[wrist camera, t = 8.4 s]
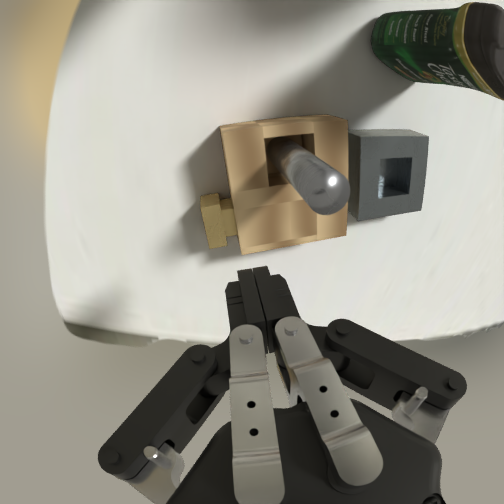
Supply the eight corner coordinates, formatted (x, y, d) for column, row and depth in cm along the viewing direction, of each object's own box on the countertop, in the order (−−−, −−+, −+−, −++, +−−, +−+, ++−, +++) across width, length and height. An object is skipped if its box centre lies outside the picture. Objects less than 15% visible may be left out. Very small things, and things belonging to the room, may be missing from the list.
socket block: (236, 232, 35) (241, 255, 31) (219, 125, 28) (222, 132, 24) (329, 216, 36) (346, 235, 32) (327, 114, 29) (347, 120, 24)
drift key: (200, 196, 32) (200, 208, 29) (270, 183, 32) (277, 194, 29) (208, 234, 34) (209, 249, 32) (274, 222, 35) (280, 235, 32)
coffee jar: (361, 54, 25) (491, 55, 9) (377, 5, 21) (498, -15, 6) (418, 91, 28) (538, 125, 12) (432, 45, 24) (548, 59, 8)
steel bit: (264, 138, 28) (305, 173, 17) (294, 134, 28) (350, 168, 18) (267, 166, 30) (307, 218, 19) (296, 162, 30) (349, 211, 19)
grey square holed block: (343, 130, 30) (360, 136, 26) (409, 129, 30) (428, 136, 27) (343, 207, 35) (358, 221, 32) (404, 198, 36) (421, 210, 33)
